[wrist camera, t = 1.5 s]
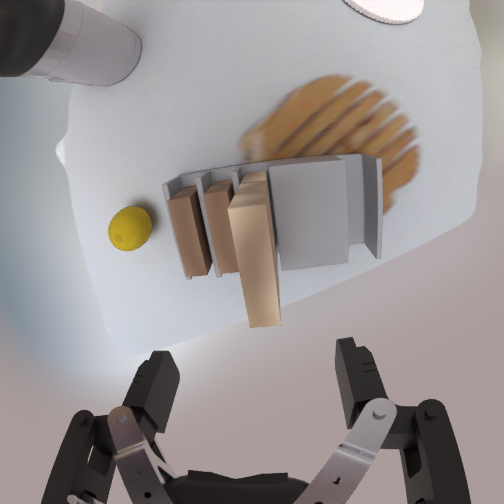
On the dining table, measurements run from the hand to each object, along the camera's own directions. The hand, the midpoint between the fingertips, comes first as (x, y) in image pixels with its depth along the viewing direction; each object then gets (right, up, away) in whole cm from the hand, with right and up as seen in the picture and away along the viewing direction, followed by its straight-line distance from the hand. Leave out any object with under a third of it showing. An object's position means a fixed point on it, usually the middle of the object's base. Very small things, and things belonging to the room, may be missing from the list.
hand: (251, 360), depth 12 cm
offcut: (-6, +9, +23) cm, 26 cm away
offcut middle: (-3, +10, +23) cm, 25 cm away
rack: (+3, +11, +23) cm, 26 cm away
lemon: (-16, +10, +25) cm, 31 cm away
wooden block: (+1, +10, +22) cm, 24 cm away
